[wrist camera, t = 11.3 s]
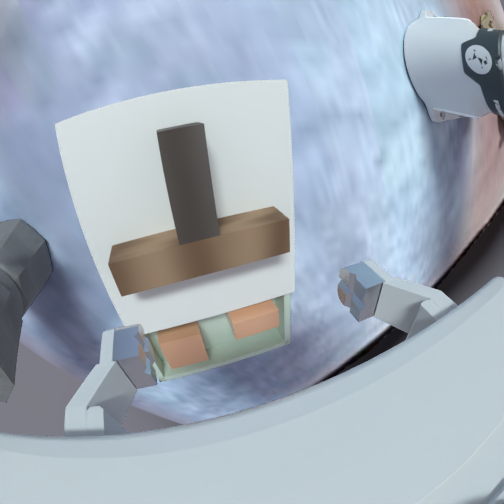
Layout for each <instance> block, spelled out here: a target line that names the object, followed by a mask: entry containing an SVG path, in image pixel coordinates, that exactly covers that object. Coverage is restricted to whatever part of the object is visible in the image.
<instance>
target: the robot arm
mask: <svg viewBox="0 0 504 504" xmlns="http://www.w3.org/2000/svg"><path fill="white" fill-rule="evenodd" d="M404 54H405V61H406V66H407V70H408V73H409V76H410V79H411V81H412V84H413V86H414V88H415V90H416V91H417V93H418V95H419V96H420V98H421V99H422V100H423V102H424V103H425V105H426V107H427V110H428V113H429V116H430V118H431V120H432V121H433V122H444V121H448V120H453V119H457V118H462V117H471V118H475V119H479V117H483V116H485V115H487V114H489V113H492V112H493V113H494V114H496V115H500V116H502V117H504V31H501V30H497V29H494V28H489V29H488V28H480V29H479V28H478V27H477V26H476V25H475V24H474V23H473V22H471V20H469V19H465V18H453V17H437V16H436V15H435V14H433V13H432V12H431V11H430V10H422V11H421V13H420V16H419V18H418V19H417V20H415V21H413V22H412V23H411V24H410V25H409V26H408V28H407V30H406V33H405V38H404ZM339 277H340V278H341V281H340V283H339V284H338V296H339V299H340V301H341V302H342V303H343V305H345V306H347V307H350V313H351V314H352V315H353V316H354V317H355V319H356V320H357V321H358V322H359V321H362V320H364V319H367V318H369V317H372V316H374V317H376V318H378V319H380V320H382V321H384V322H386V323H388V324H390V325H392V326H394V327H396V328H399V329H400V330H403V331H405V332H407V333H409V334H408V336H407V338H406V340H405V341H403V342H402V343H400V344H398V345H396V346H395V347H393V348H391V349H389V350H388V351H386V352H384V353H382V354H380V355H378V356H376V357H374V358H373V359H371V360H369V361H367V362H365V363H363V364H361V365H359V366H356V367H355V368H352V369H350V370H348V371H346V372H344V373H342V374H339V375H337V376H335V377H333V378H330V379H328V380H326V381H324V382H321V383H319V384H316V385H314V386H311V387H309V388H306V389H304V390H301V391H299V392H296V393H294V394H291V395H288V396H285V397H283V398H280V399H277V400H274V401H271V402H268V403H265V404H262V405H259V406H256V407H252V408H249V409H246V410H242V411H239V412H235V413H232V414H228V415H224V416H221V417H217V418H213V419H208V420H204V421H200V422H195V423H190V424H186V425H181V426H175V427H170V428H164V429H158V430H151V431H144V432H137V433H130V432H128V431H127V430H126V429H125V428H124V427H122V424H123V421H124V419H125V417H126V414H127V412H128V410H129V408H130V405H131V403H132V401H133V399H134V397H135V394H136V392H137V389H139V388H144V387H149V386H154V385H157V378H156V370H155V369H154V367H153V363H154V362H155V359H154V353H153V349H152V346H151V343H150V341H149V339H148V338H147V337H145V336H144V329H143V327H142V325H141V324H134V325H129V326H124V327H119V328H115V329H110V330H104V331H103V333H102V340H101V350H100V362H99V364H96V365H95V367H94V368H93V369H92V371H91V372H90V374H89V375H88V376H87V378H86V379H85V381H84V382H83V383H82V385H81V386H80V388H79V389H78V391H77V392H76V394H75V395H74V397H73V398H72V399H71V401H70V402H69V404H68V405H67V407H66V413H65V431H64V437H53V436H52V437H51V436H33V435H21V434H12V433H5V432H0V504H504V278H502V277H495V278H493V279H492V280H491V281H490V282H489V283H487V284H486V285H485V286H483V287H482V288H481V289H480V290H479V291H477V292H476V293H475V294H474V295H472V296H471V297H469V298H468V299H467V300H466V301H464V302H463V303H461V304H460V305H459V306H457V305H456V304H455V303H454V302H453V301H452V300H451V299H450V298H449V297H447V296H446V295H445V294H444V293H443V292H442V291H440V290H437V289H434V288H431V287H427V286H424V285H421V284H418V283H414V282H411V281H408V280H405V279H401V278H398V277H396V278H394V277H393V276H391V275H390V274H389V273H388V272H387V271H386V270H385V269H383V268H382V267H381V266H380V265H379V264H378V263H376V262H375V261H374V260H372V259H368V260H365V261H362V262H360V263H357V264H354V265H351V266H348V267H345V268H342V269H341V271H340V274H339Z"/></svg>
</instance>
